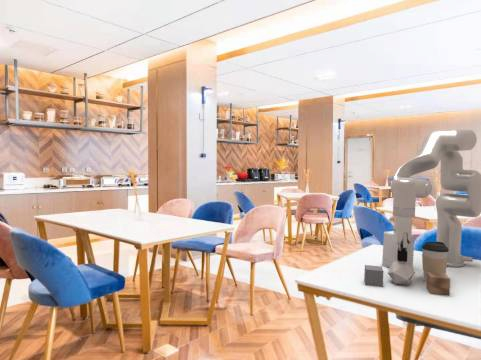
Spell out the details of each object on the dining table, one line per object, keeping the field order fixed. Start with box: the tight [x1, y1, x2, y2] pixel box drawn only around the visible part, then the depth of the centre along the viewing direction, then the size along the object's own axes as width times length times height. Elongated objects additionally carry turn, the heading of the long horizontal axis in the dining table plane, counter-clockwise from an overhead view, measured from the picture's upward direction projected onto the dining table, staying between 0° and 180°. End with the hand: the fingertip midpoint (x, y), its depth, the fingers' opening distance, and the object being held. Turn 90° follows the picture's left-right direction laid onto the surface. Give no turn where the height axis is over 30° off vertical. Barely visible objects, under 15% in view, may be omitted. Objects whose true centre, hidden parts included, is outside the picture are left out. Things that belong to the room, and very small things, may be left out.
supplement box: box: [381, 230, 415, 269], centre depth 155 cm, size 9×9×15 cm
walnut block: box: [425, 272, 451, 297], centre depth 126 cm, size 6×6×6 cm
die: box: [387, 262, 416, 285], centre depth 134 cm, size 8×9×10 cm
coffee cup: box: [421, 241, 449, 283], centre depth 136 cm, size 9×9×15 cm
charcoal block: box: [363, 264, 384, 288], centre depth 133 cm, size 6×6×6 cm
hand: (402, 260), depth 134 cm, fingers closed
